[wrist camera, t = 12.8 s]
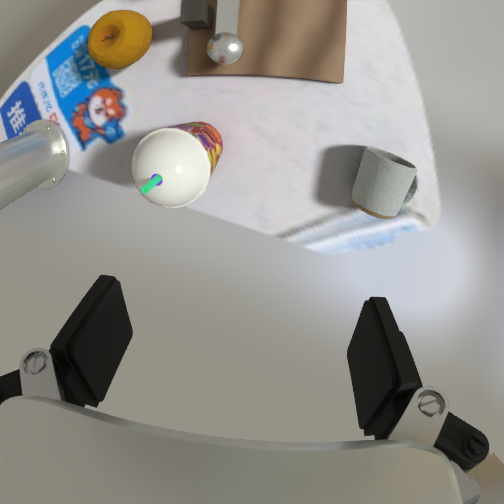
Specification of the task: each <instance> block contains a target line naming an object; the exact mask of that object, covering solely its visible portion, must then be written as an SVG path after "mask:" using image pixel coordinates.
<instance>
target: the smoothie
mask: <svg viewBox="0 0 504 504" xmlns="http://www.w3.org/2000/svg"><path fill="white" fill-rule="evenodd" d="M222 150H223V142H222V139H221V136H220V134H219V133H218V131H217V130H216V129H215V128H214V127H212V126H211V125H210V124H207V123H204V122H192V123H187V124H182V125H177V126H172V127H168V128H161V129H158V130H155V131H152V132H150V133H149V134H148V135H146V136H145V137H144V138H143V139H141V141H140V142H139V144H138V145H137V147H136V148H135V150H134V153H133V157H132V161H131V168H132V176H133V180H134V182H135V185H136V188H137V189H138V190H139V192H140V193H141V195H142V196H143V197H145V198H146V199H147V200H149V201H150V202H152V203H154V204H156V205H159V206H161V207H164V208H179V207H184V206H188V205H189V204H191V203H193V202H194V201H196V200H197V199H198V198H199V197H200V196H201V195H202V194H203V192H204V191H205V190H206V188H207V185H208V182H209V180H210V178H211V175H212V173H213V171H214V169H215V167H216V165H217V162H218V160H219V158H220V156H221V153H222Z"/></svg>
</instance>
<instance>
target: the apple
mask: <svg viewBox="0 0 504 504" xmlns="http://www.w3.org/2000/svg"><path fill="white" fill-rule="evenodd" d="M151 40H152V27H151V25H150V22H149V21H148V20H147V19H146V17H145V16H143V15H141V14H139V13H138V12H135V11H131V10H117V11H111V12H109V13H107V14H105V15H103V16H102V17H101V18H100V19H99V20H98V21H97V22H96V23H95V24H94V25H93V27H92V29H91V30H90V32H89V37H88V44H87V46H88V52H89V54H90V56H91V57H92V58H93V60H94V61H95V62H97V63H98V64H99V65H101V66H102V67H106V68H112V69H119V68H124V67H127V66H129V65H131V64H133V63H135V62H136V61H138V60H139V59H140V58H141V57H143V56H144V54H145V53H146V52H147V50H148V49H149V46H150V44H151Z"/></svg>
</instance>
